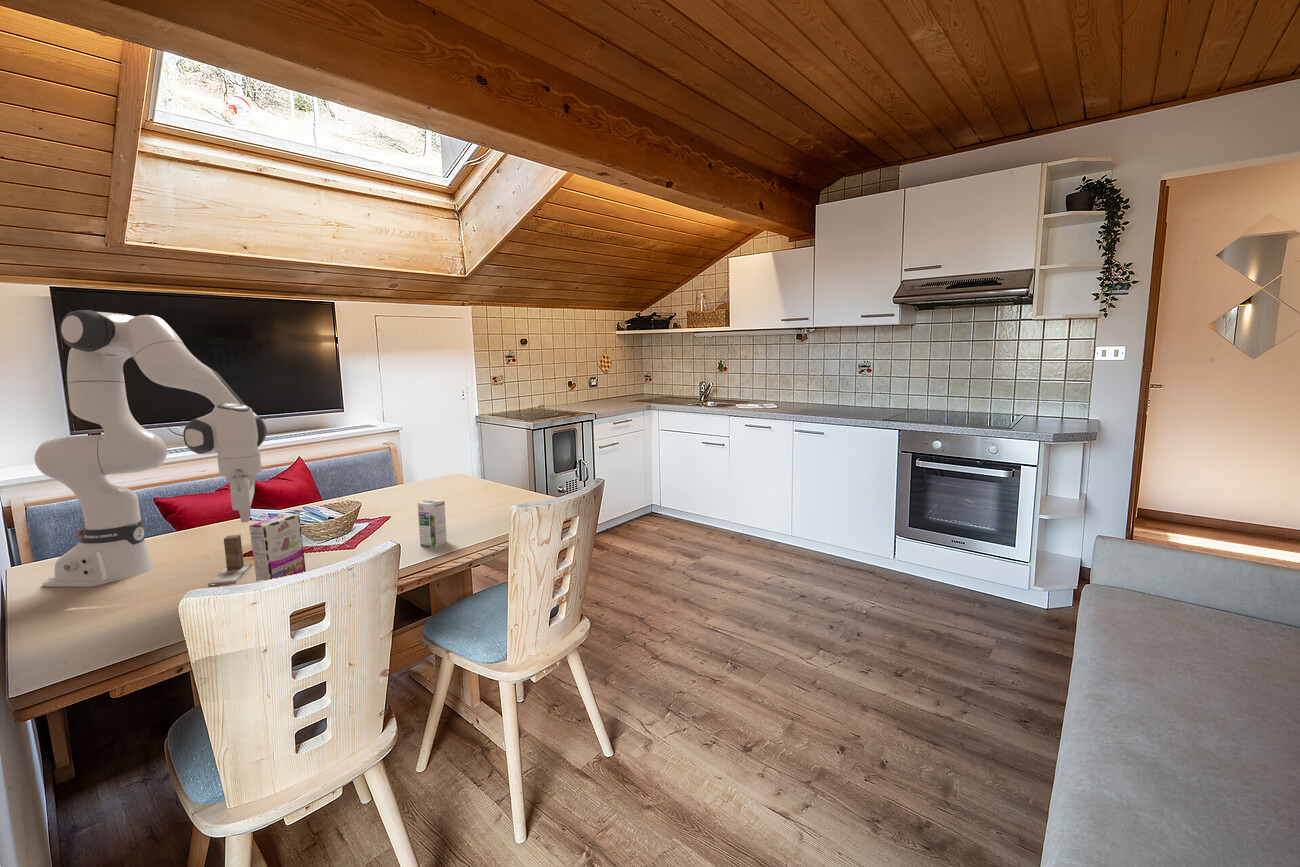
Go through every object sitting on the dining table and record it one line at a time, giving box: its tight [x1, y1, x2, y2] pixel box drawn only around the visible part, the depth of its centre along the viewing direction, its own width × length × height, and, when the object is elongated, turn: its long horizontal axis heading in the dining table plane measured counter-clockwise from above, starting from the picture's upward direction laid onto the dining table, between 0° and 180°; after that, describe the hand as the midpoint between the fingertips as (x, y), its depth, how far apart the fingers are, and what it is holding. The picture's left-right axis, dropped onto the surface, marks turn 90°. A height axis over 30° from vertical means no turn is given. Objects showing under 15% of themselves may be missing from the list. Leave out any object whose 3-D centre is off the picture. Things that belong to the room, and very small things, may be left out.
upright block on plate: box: [207, 534, 253, 588], centre depth 150 cm, size 14×6×10 cm, turn 21°
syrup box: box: [417, 498, 448, 549], centre depth 171 cm, size 6×6×14 cm
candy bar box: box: [248, 513, 307, 582], centre depth 147 cm, size 11×5×16 cm, turn 168°
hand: (246, 519), depth 145 cm, fingers open, 3 cm apart
